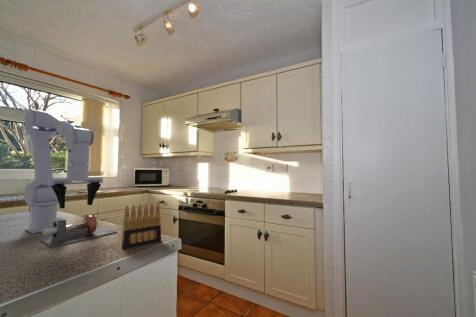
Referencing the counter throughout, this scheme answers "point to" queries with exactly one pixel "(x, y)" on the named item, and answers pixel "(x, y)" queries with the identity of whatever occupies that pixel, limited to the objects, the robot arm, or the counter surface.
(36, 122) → the robot arm
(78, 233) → the eye bracket
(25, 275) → the counter surface
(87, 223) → the hammer
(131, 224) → the ammunition clip
